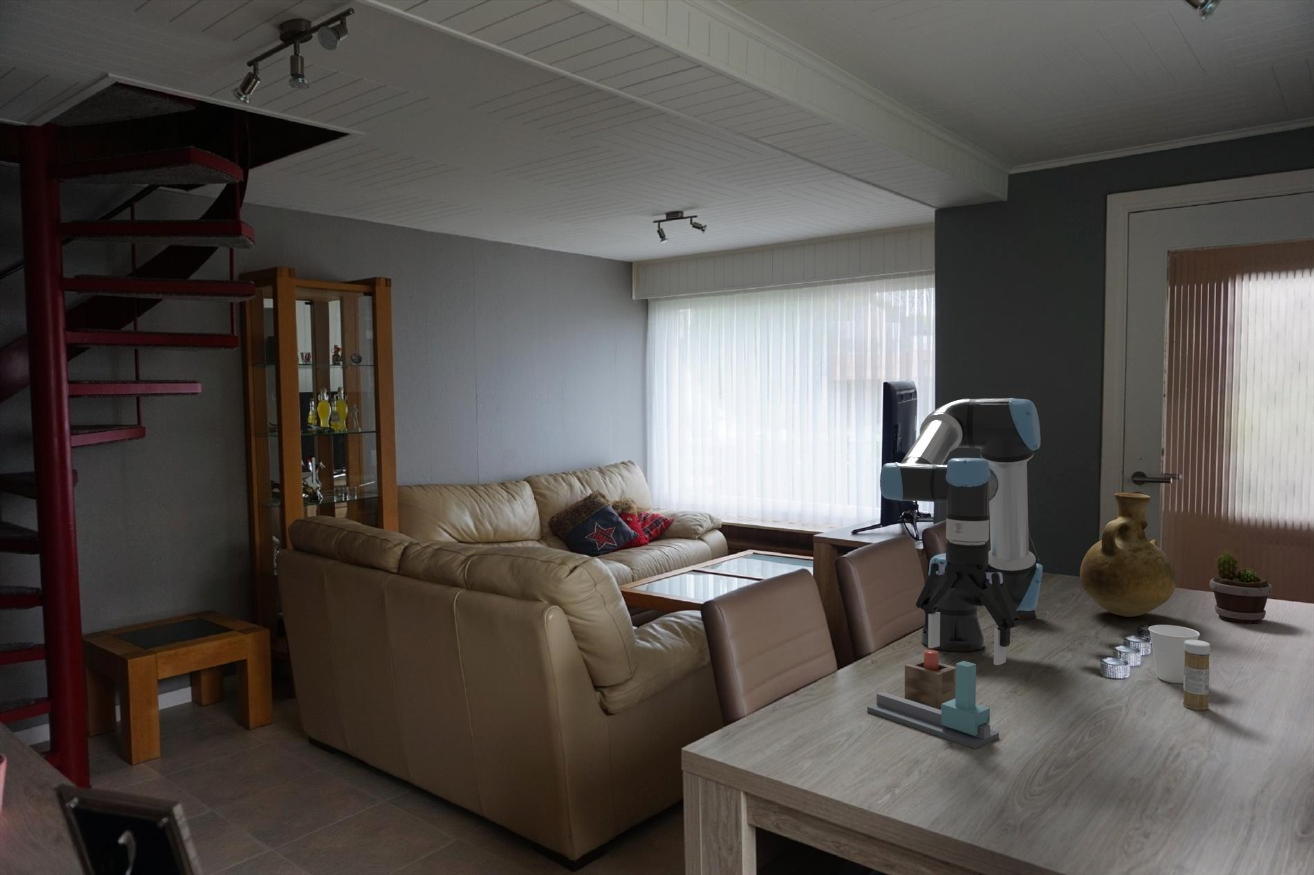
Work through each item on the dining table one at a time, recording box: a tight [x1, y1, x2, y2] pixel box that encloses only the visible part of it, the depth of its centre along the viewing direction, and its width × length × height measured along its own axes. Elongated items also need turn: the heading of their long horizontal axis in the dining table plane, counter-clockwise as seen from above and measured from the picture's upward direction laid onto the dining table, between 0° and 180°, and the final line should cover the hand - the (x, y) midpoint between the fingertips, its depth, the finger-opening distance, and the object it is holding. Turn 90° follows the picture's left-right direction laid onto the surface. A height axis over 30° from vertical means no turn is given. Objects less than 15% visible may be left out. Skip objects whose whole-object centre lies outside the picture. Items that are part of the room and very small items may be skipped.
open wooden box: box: [904, 658, 956, 709], centre depth 183 cm, size 8×7×7 cm
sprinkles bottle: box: [1182, 639, 1211, 711], centre depth 177 cm, size 5×5×14 cm
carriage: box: [940, 660, 991, 736], centre depth 163 cm, size 7×5×12 cm
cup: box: [1147, 624, 1201, 684], centre depth 194 cm, size 10×10×11 cm
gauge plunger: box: [923, 649, 940, 671], centre depth 182 cm, size 3×3×4 cm
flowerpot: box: [1209, 549, 1273, 624], centre depth 243 cm, size 14×15×20 cm
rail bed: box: [866, 691, 1000, 750], centre depth 169 cm, size 24×8×3 cm, turn 39°
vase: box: [1079, 492, 1177, 618], centre depth 248 cm, size 24×24×35 cm
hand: (965, 655), depth 162 cm, fingers open, 13 cm apart
